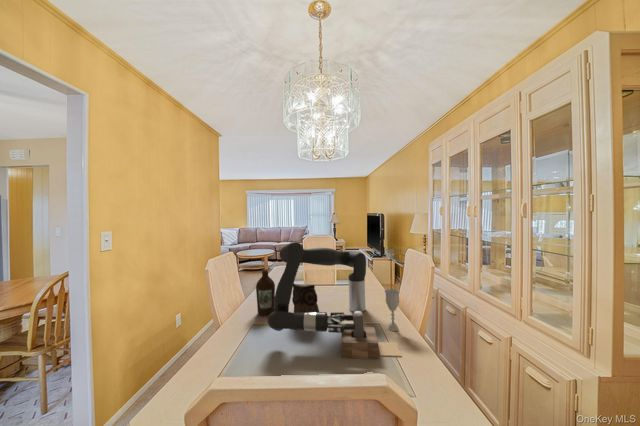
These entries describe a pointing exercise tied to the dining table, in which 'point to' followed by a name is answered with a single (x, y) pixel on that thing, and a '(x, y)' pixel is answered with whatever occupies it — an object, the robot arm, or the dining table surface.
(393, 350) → the pad
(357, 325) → the plug
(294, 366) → the dining table surface
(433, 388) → the dining table surface
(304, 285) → the brown owl figurine
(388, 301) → the chalice
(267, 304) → the olive oil
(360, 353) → the wooden square socket block
